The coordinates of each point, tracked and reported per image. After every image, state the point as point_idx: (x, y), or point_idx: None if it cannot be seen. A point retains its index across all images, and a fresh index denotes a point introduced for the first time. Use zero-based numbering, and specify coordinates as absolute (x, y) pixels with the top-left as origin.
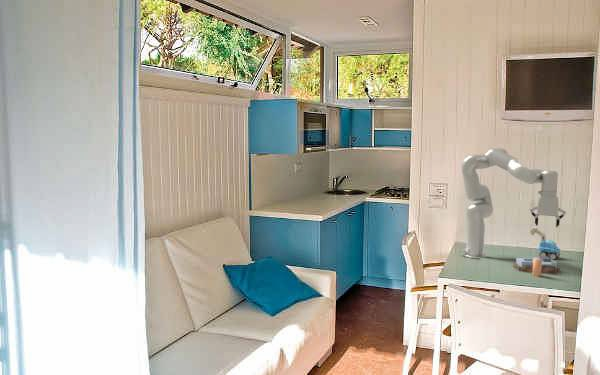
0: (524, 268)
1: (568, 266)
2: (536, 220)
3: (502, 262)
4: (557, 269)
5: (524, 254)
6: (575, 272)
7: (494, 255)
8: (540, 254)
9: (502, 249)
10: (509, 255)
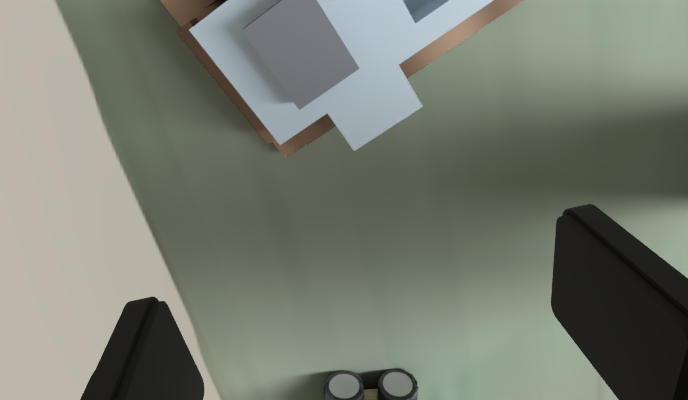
0: None
1: (227, 297)
2: (678, 273)
3: (599, 117)
4: (193, 23)
5: (490, 375)
6: (138, 188)
7: None
8: (411, 382)
9: (602, 393)
10: None
